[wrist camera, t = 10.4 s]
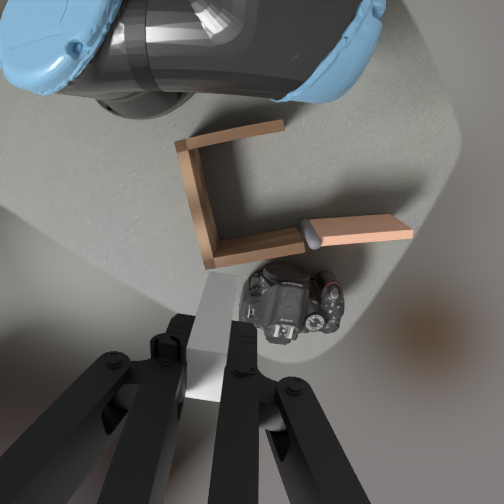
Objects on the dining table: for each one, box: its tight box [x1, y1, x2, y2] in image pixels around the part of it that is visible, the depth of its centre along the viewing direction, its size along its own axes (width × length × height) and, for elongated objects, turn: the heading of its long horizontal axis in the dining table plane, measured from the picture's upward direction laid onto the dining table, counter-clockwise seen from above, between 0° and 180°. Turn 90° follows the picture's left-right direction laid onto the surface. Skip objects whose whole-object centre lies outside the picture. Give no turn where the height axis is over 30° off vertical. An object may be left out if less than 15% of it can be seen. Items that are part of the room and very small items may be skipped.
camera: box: [239, 262, 344, 345], centre depth 39 cm, size 13×10×10 cm
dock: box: [175, 119, 305, 270], centre depth 36 cm, size 14×11×6 cm
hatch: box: [300, 214, 413, 249], centre depth 36 cm, size 12×2×7 cm, turn 96°
